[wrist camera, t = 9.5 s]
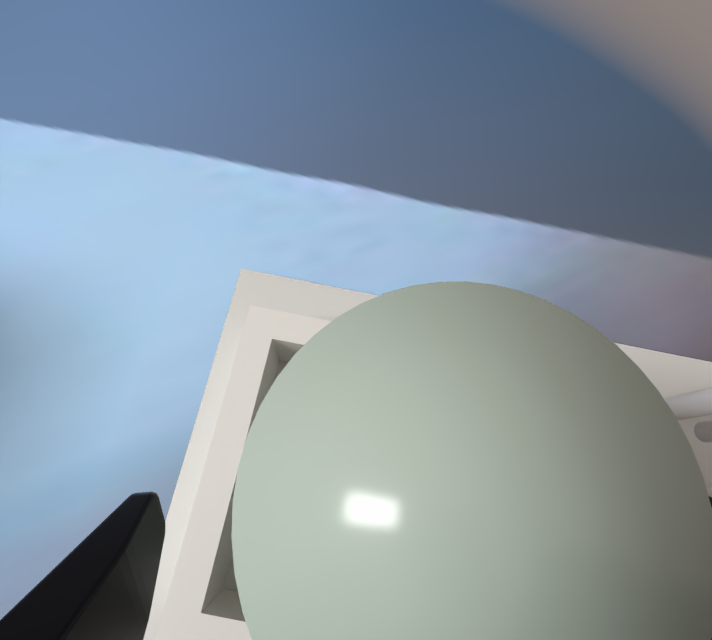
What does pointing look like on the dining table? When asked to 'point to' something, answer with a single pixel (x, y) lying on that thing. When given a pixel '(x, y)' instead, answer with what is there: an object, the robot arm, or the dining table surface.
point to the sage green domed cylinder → (469, 482)
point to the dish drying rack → (235, 417)
